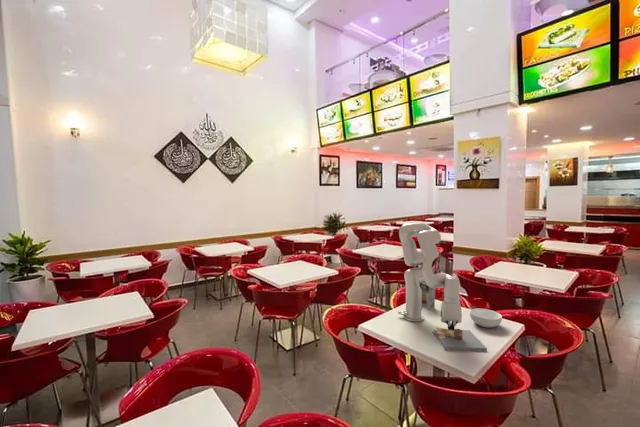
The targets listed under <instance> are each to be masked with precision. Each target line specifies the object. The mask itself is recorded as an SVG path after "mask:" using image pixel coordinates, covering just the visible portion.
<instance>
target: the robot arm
mask: <svg viewBox="0 0 640 427" xmlns="http://www.w3.org/2000/svg"><path fill="white" fill-rule="evenodd" d="M398 236H399V240H400V244H401V246H402V248H401V249H402V254H403V259H404V263H405V265H406V266H409V267H413V268H409V269H406V270H405V271H404V274H403V275H404V281H405V308H404V310H398V311H397V313H398V315H401V316H402V317H403V319H405V320H406V321H410V322H423V321H424V320H425V316H424V315H423V314H422V309H423V307H422V290H421V288H420V286H419V283H422V282H426V283H427V285H428V286H429V287H430V288H435V289H437V288H443V300H442V301H441V305H440V315H439V316H440V318H441V319H440V322H441V323H443V324H444V323H445V324H446V325H447V329H449V330H454V329H455V327H456V326H457V324H460V323H462V319H463V316H462V315H463V313H462V305H461V302H460V301H462V299H463V298H462V297H461V296H460V279H459V278H458V277H456V276H453V275H450V274H448V273H446V272H440V273H439V272H438V273H434V272H433V269H432V268H433V266H432V265H433V262H434V261H435V259H436V258H438V257H439V256H440V254H439V251H438V248H437V246H436V244H439V243H440V242H441V240H442V236H441V234H440V232H439V231H438V230H437V229H435V228H434V227H433V226H430V225H429V224H427V223H425V222H410V223H408V222H407V223H404V224H402V225H401V226H400V227H399V230H398ZM413 237H417V242H418V244H419V247H420V249H417V244H416V241H415V240H414V239H413ZM416 266H418V267H416Z"/></svg>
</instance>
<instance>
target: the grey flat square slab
mask: <svg viewBox="0 0 640 427" xmlns="http://www.w3.org/2000/svg"><path fill="white" fill-rule="evenodd" d="M461 330H462V339H460V340H459V339H455V338H454V337H450V336H446V335H441V334H437V333H436V329H432V332H433V334H434V336H435V337H436V340H438V341H439V343H440V344H441V346H442V348H443V349H444V350H445V351H463V352H464V351H465V352H467V351H469V352H487V351H488V350H487V349H488V348H487V347H486V345H484V344H483V343H482V342H481V341H480V339H478V337H477V336H475V335H474V333H473V332H471V330H470V329H461Z"/></svg>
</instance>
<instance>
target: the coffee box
mask: <svg viewBox="0 0 640 427" xmlns="http://www.w3.org/2000/svg"><path fill="white" fill-rule="evenodd" d="M419 286H420V288H421V290H422V306H423V307H422V308H424V307H425V309H426V308H427V309H426V310H431V309H430V308H432V309H435V307H436V306H435V305H436V304H435V302H436V301H435V300H436V288H430V287H429V286H428V285H427V283H426V282H422V283H419Z"/></svg>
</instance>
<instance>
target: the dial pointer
mask: <svg viewBox="0 0 640 427" xmlns="http://www.w3.org/2000/svg"><path fill="white" fill-rule="evenodd" d="M435 328H436V329H435V330H436V333H437V334H441V335H446V336H450V337H454V338H455V339H459V340H460V339H462V330H463V329H460V328H454V330H449V329H448V328H444V327H439V326H437V327H435Z"/></svg>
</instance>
